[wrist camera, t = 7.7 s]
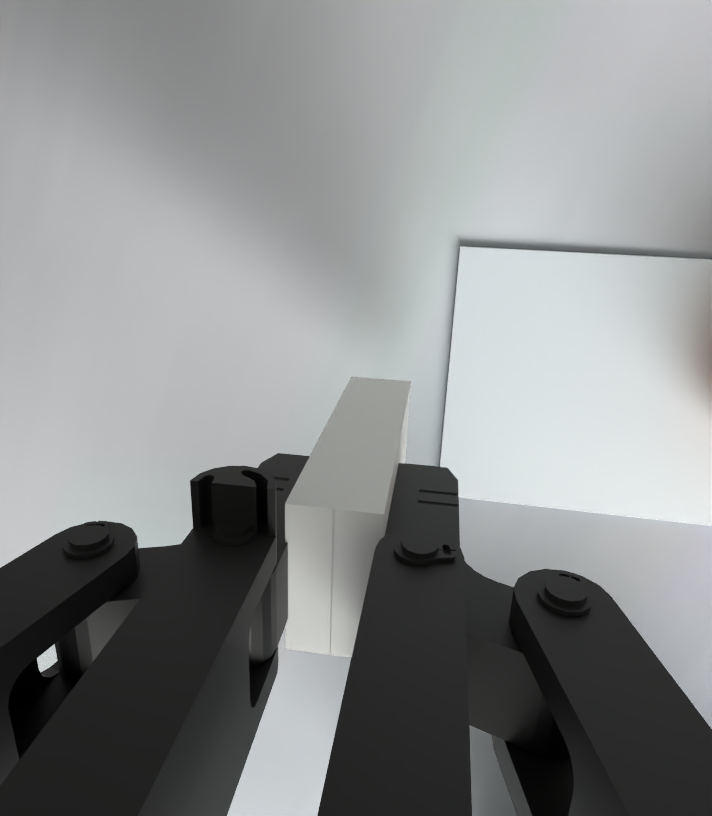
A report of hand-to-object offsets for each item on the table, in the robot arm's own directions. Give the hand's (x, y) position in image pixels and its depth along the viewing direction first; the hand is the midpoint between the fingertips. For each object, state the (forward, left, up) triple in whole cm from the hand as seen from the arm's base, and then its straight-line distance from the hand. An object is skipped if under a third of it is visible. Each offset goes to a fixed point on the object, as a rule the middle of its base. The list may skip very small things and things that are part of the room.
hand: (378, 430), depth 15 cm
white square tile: (+6, 0, -4) cm, 7 cm away
